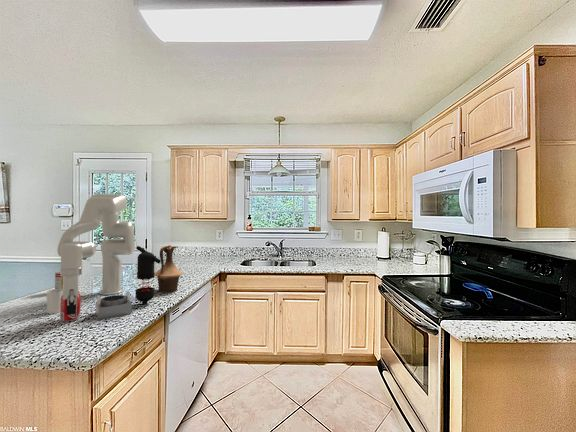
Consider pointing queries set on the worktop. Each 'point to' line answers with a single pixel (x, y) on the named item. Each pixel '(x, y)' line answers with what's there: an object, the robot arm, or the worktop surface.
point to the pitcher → (168, 271)
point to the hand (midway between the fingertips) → (70, 311)
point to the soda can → (63, 309)
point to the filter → (145, 274)
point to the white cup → (54, 300)
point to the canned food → (58, 281)
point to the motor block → (113, 306)
